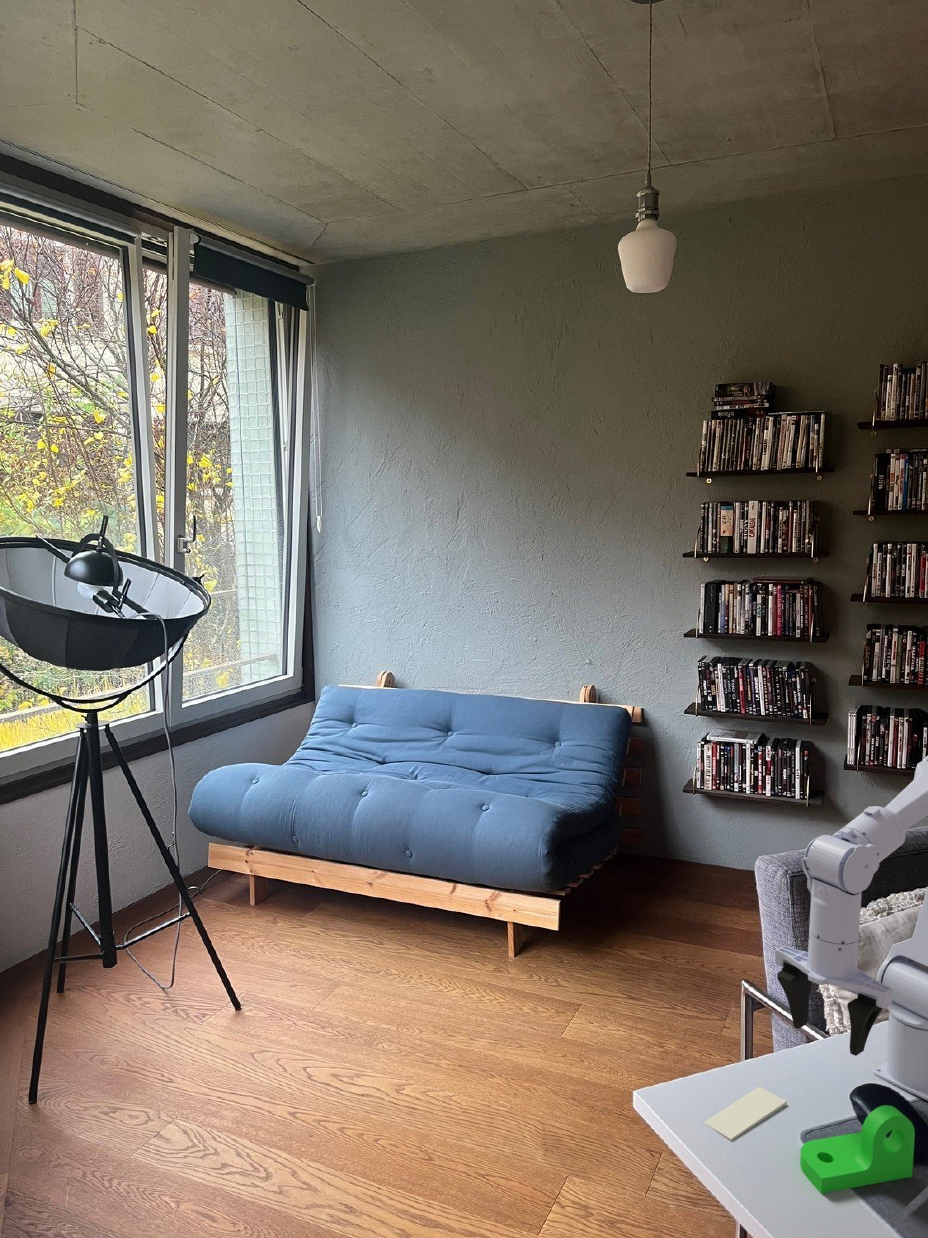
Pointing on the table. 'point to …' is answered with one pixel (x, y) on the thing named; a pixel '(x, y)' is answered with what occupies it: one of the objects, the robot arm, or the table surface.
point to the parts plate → (745, 1113)
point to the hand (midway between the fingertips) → (827, 1038)
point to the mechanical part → (862, 1153)
